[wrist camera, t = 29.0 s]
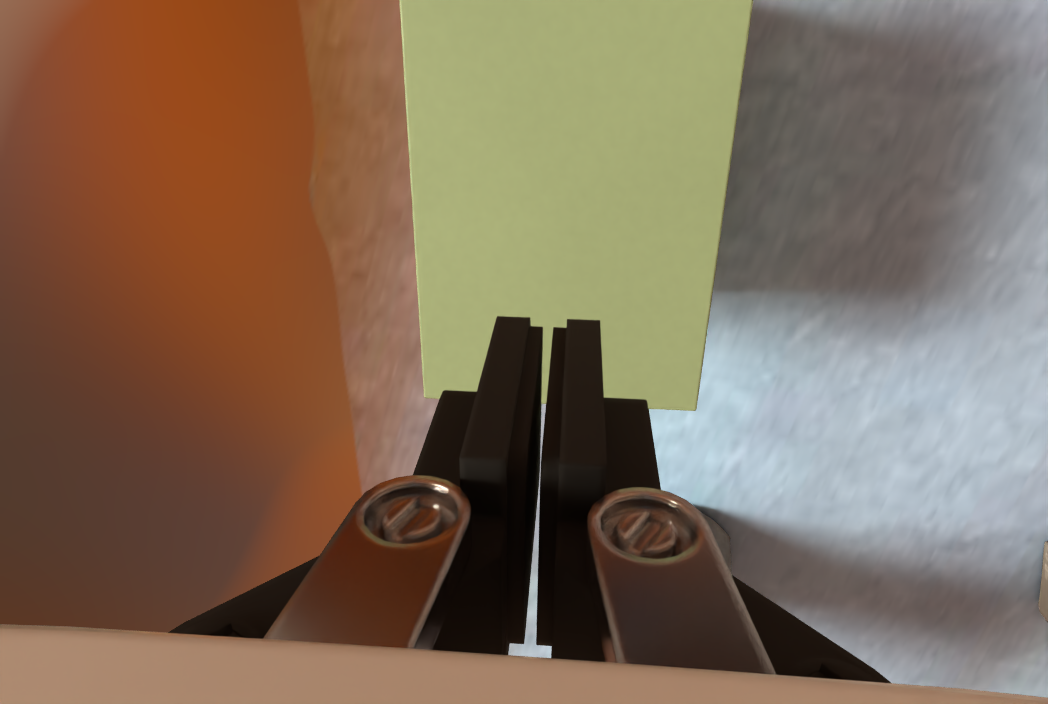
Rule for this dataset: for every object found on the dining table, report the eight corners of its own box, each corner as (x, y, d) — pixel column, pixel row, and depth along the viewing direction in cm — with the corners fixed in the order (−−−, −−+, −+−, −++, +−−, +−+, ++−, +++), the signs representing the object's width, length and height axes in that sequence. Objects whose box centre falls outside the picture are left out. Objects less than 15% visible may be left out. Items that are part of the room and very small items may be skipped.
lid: (402, -33, 24) (396, -34, 23) (752, -30, 23) (758, -31, 23) (427, 389, 31) (423, 398, 31) (693, 401, 31) (696, 411, 30)
